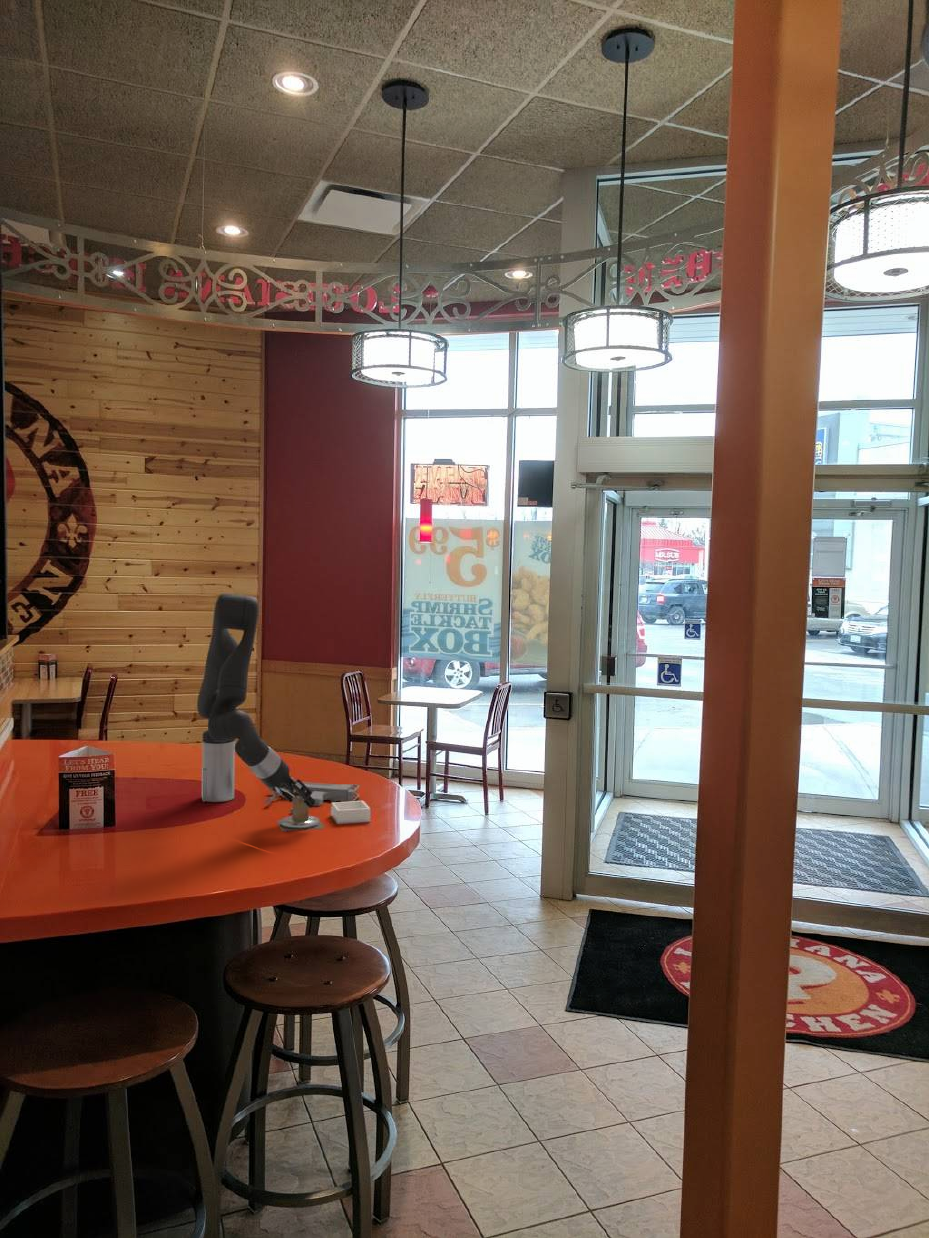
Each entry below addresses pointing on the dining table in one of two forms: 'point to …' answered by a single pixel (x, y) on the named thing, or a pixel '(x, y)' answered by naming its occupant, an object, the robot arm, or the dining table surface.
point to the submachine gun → (326, 793)
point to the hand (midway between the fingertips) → (302, 802)
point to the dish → (350, 812)
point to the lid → (299, 816)
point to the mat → (298, 829)
